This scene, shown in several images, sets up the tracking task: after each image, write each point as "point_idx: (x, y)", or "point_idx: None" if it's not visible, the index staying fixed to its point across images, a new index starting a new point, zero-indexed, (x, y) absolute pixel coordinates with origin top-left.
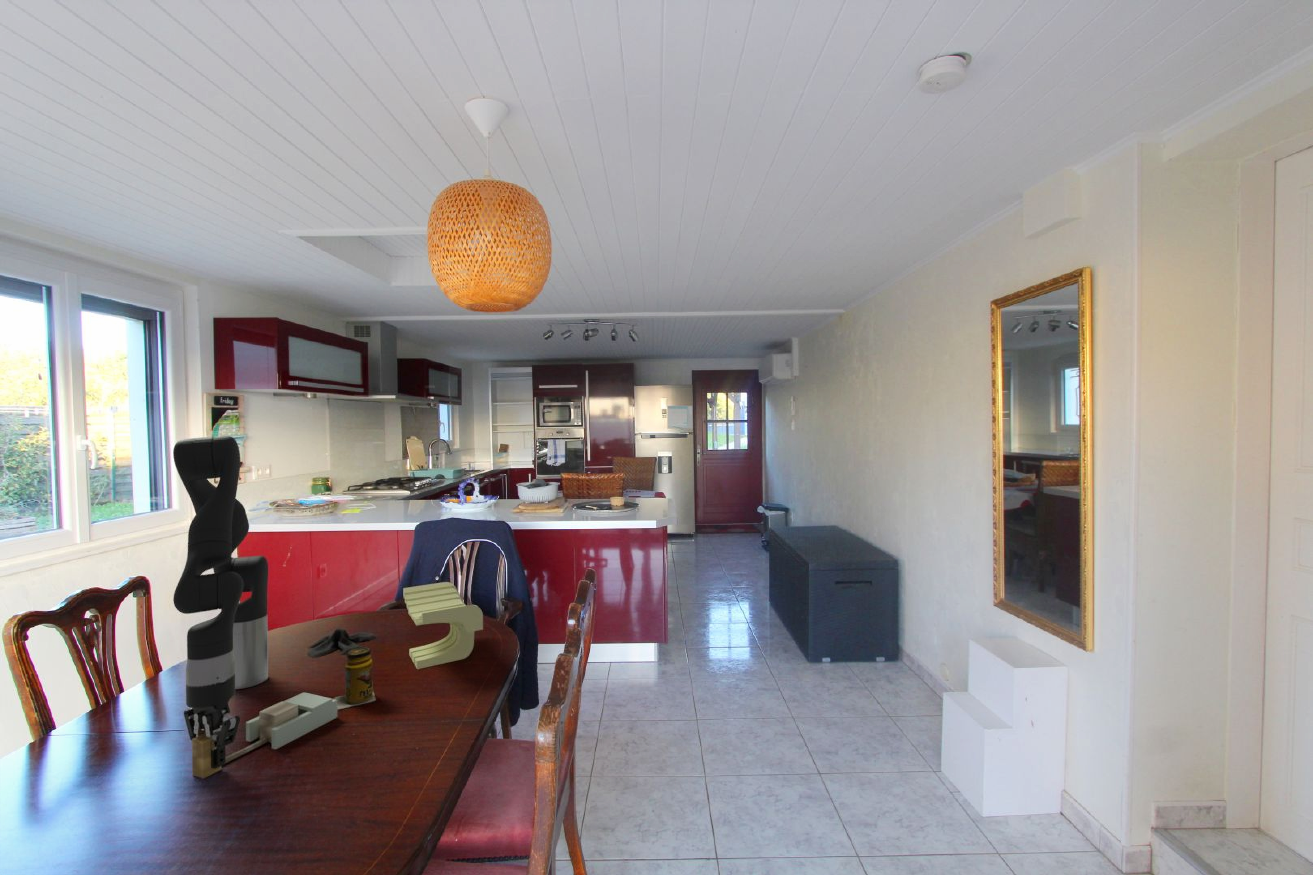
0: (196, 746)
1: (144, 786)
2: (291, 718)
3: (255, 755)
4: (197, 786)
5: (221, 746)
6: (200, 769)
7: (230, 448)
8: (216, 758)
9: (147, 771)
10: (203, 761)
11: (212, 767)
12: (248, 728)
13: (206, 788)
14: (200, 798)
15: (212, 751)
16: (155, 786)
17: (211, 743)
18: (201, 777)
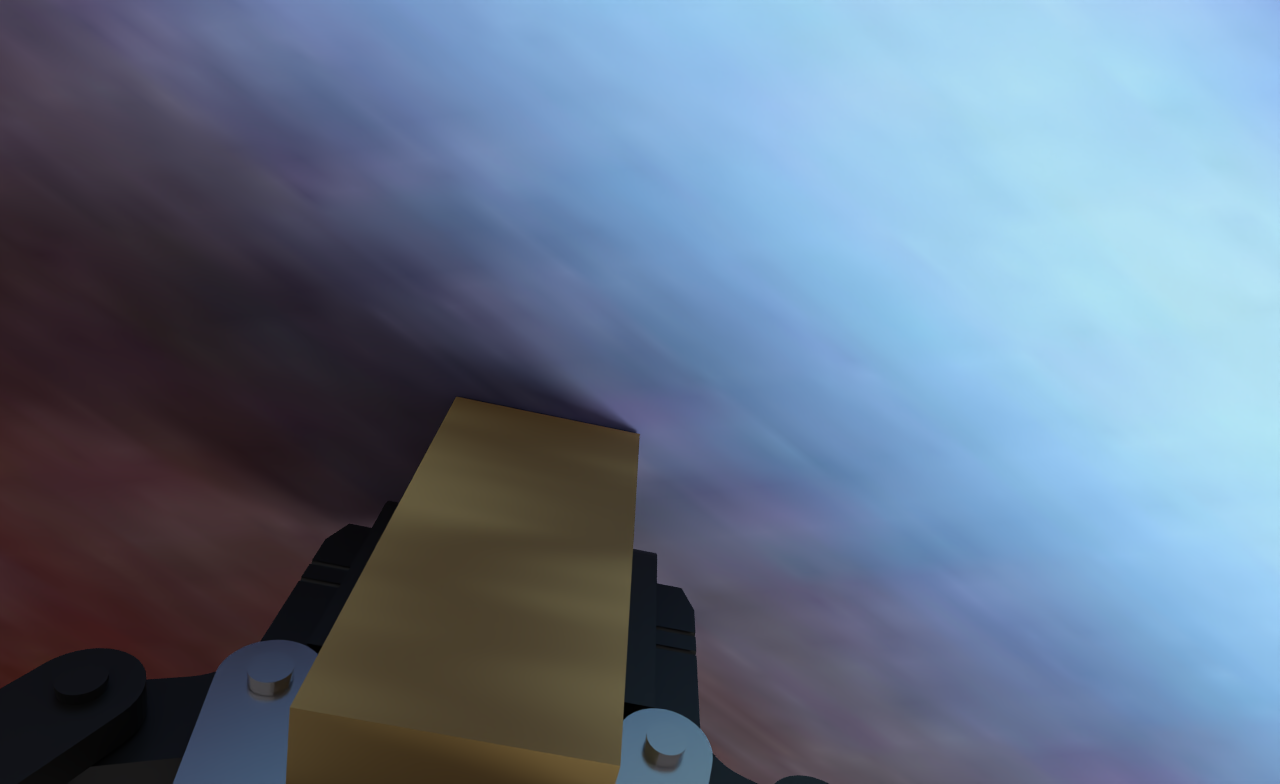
0: (507, 651)
1: (1013, 184)
2: None
3: None
4: (372, 273)
5: (22, 679)
6: (481, 449)
7: None
8: (325, 579)
9: (1235, 427)
10: (400, 501)
11: None
12: None
13: (231, 256)
14: (82, 82)
15: (322, 632)
16: (873, 204)
17: (285, 725)
18: (482, 404)
